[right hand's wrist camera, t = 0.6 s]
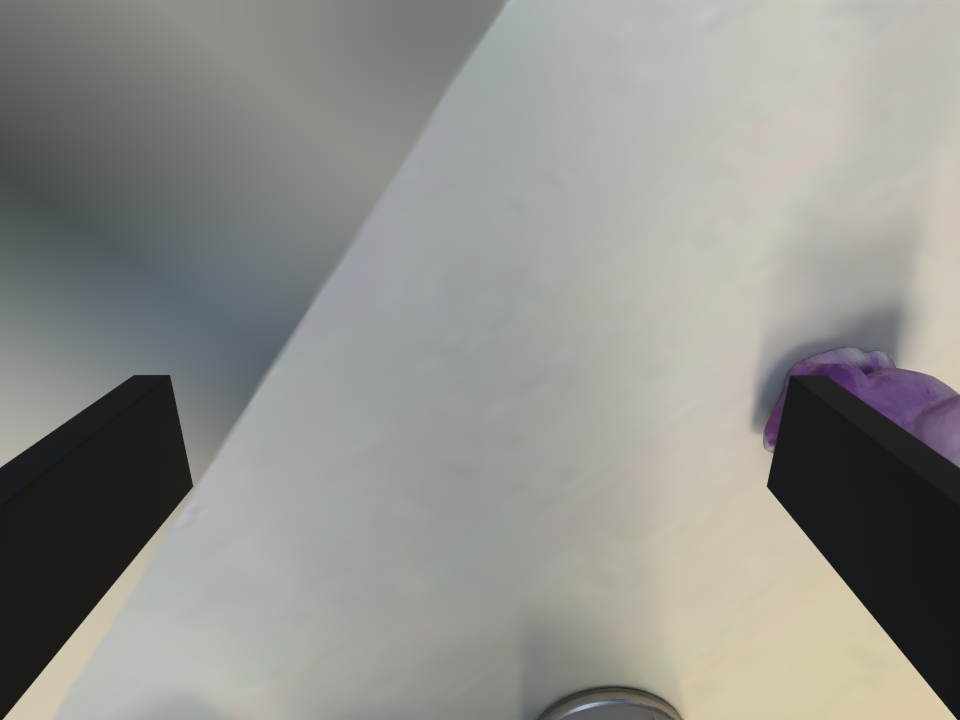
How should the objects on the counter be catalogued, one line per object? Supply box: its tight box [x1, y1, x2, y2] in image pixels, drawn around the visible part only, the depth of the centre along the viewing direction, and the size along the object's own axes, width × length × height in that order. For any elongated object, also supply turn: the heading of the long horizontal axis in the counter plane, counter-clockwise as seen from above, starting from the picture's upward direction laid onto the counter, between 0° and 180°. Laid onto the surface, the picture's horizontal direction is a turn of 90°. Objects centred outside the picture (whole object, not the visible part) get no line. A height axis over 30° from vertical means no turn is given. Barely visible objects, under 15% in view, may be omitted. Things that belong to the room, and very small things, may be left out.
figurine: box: [763, 347, 960, 468], centre depth 35 cm, size 9×10×15 cm
